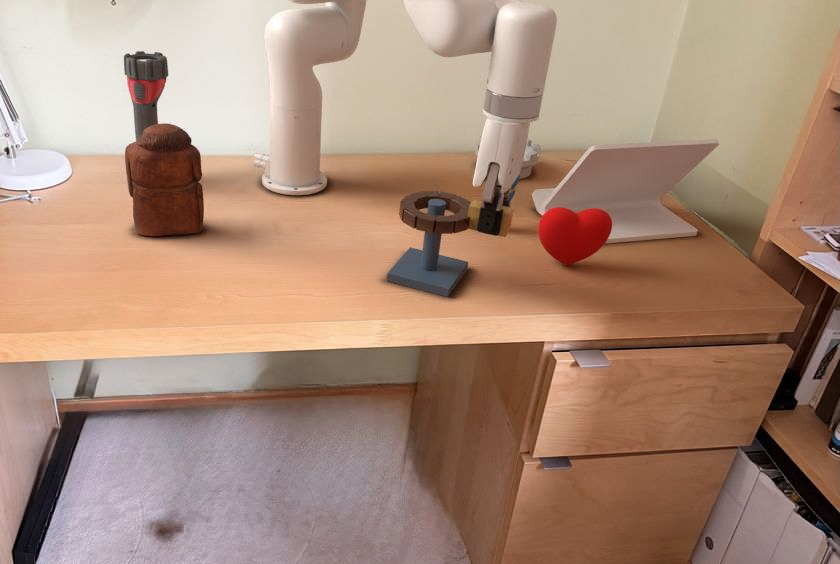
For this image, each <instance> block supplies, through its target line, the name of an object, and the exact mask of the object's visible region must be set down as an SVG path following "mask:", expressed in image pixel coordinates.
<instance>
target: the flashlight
mask: <svg viewBox="0 0 840 564" xmlns="http://www.w3.org/2000/svg"><path fill="white" fill-rule="evenodd" d="M123 70H124V75H125V76H126V83H127V88H128V92H129V95H130V99H131V102H132V107H133V121H134V123H133V125H134V134H135V141H136V140H137V138H138V136H139V135H140V134H141V133H142V132H143V131H144V130H145V129H146V128H148V127H150V126H152V125H155V124H159V117H158V115H159V114H158V101H159V100H160V98H161V96H162V93H163V91H164V90H165V86H166V82H167V77H169V64H168V58H167V56H166V55H164V54H163V53H162V52H159V51H155V52H154V53H146V52H145V51H143V50H138V51H135V53H132V54H130V52H129V53H125V54H124V55H123Z"/></svg>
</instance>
